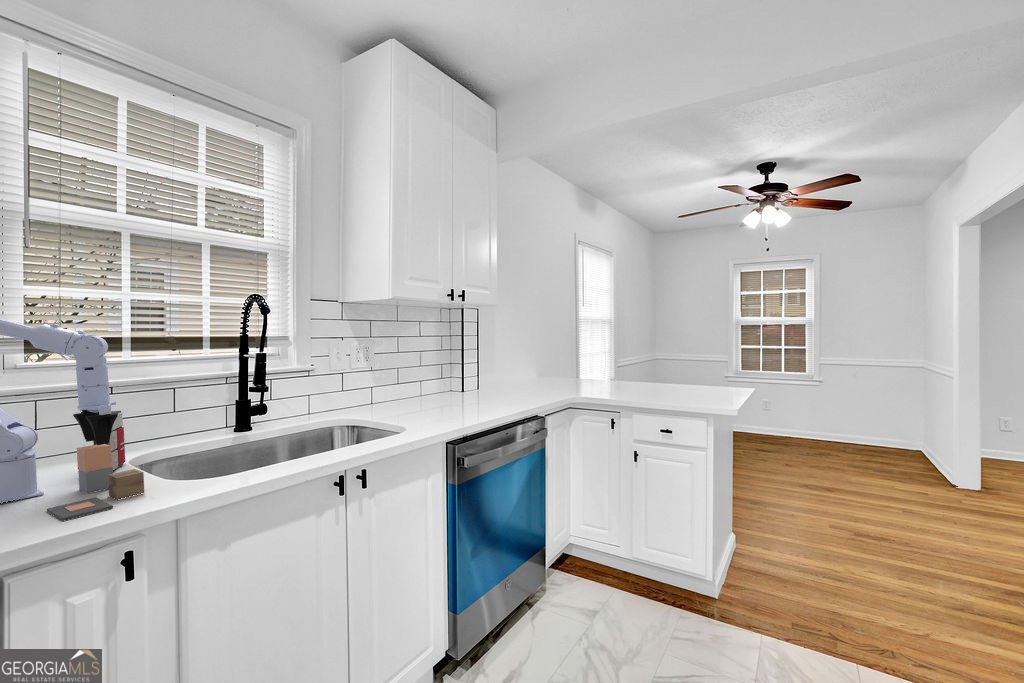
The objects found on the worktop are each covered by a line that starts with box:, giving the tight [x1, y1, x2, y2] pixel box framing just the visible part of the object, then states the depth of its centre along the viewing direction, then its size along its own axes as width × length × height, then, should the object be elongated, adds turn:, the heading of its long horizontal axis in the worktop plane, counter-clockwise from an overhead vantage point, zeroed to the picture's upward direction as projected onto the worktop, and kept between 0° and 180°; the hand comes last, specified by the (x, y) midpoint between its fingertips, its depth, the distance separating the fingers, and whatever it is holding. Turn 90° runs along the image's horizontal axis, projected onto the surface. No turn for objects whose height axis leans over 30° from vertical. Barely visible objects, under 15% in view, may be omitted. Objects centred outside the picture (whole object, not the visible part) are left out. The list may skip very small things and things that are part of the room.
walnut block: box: [108, 468, 145, 501], centre depth 112 cm, size 5×5×5 cm
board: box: [46, 496, 114, 522], centre depth 103 cm, size 10×8×1 cm
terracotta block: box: [76, 444, 112, 472], centre depth 117 cm, size 5×5×5 cm
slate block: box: [77, 467, 114, 494], centre depth 117 cm, size 5×5×5 cm
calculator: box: [92, 410, 126, 471], centre depth 133 cm, size 11×4×15 cm, turn 22°
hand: (97, 442), depth 119 cm, fingers open, 7 cm apart
